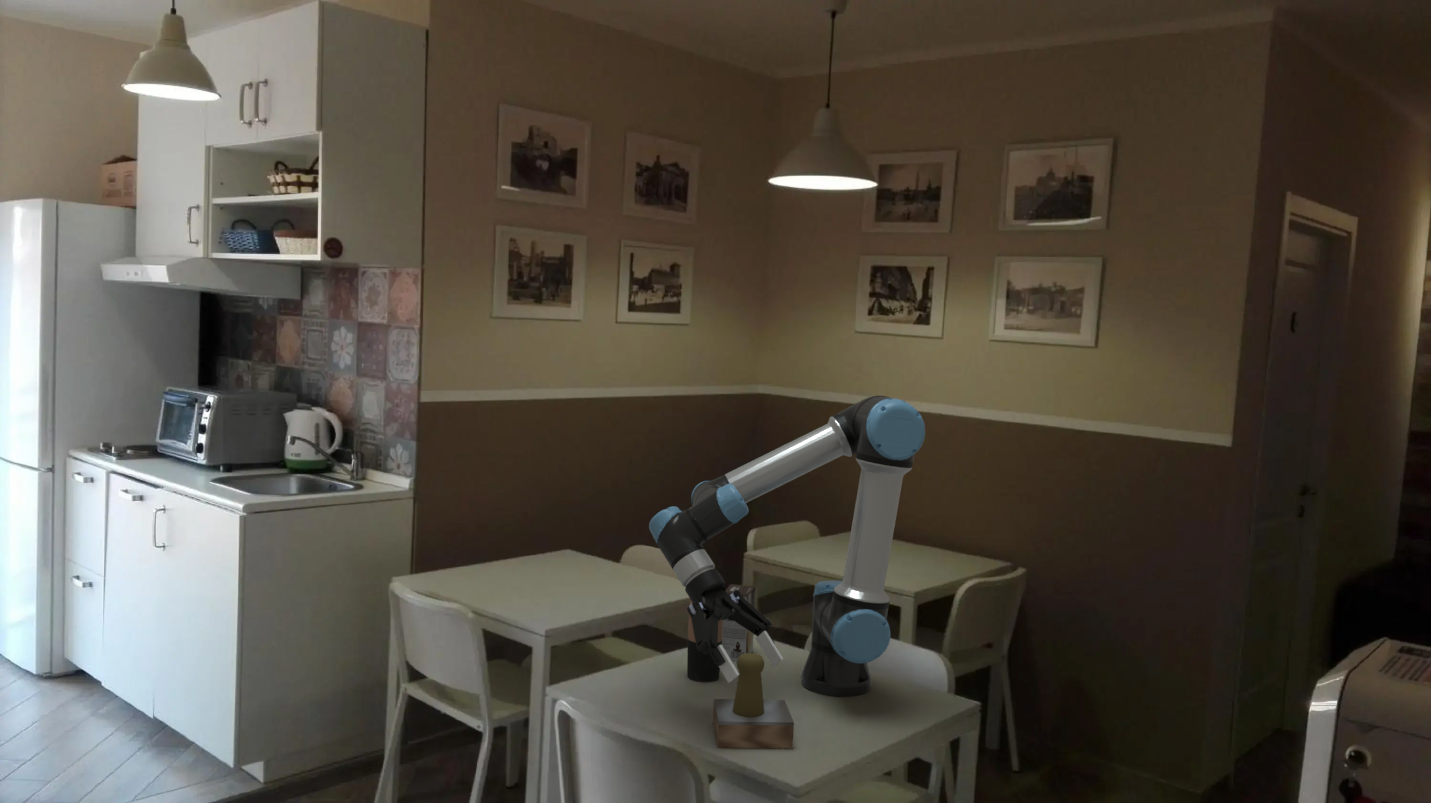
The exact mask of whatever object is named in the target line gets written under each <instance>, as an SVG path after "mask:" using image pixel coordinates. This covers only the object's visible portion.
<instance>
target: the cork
mask: <svg viewBox="0 0 1431 803" xmlns="http://www.w3.org/2000/svg"><path fill="white" fill-rule="evenodd" d="M736 666H737V667H736V669H737V671H738V673H739V674H740V675H738V676H737V682H736V689H735V694H734V698H733V699H734V705H733V710H732V711H733V713H735V714H736V715H739V716H743V717H758V716H761V715H763V714H764V703H763V700H764V694H763V681H762V680H763V679H762V672H763V671H764V668H765V660H764V658H763V656H761V655H760V654H757V653H753V652H752V653H744V654H742V655H740V656H739V658H738V660H737V661H736Z"/></svg>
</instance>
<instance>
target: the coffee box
mask: <svg viewBox="0 0 1431 803" xmlns="http://www.w3.org/2000/svg"><path fill="white" fill-rule="evenodd" d="M735 590H738V591H739V592H740V593H741V595H742V596H743V597H744V599H745V600H746V601H748V602H749V603H750V604H751V605H752V606H753V607H754V608H755V606H756V605H755V604H756V603H755V602H756V601H755V600H756V586H755V585H746V584H745V585H744V584H743V585H742V584H729V585H728V586H727V588H725V591H726V592H727V593H728V594H729V595H730V594H732V593H733V592H734V591H735ZM755 609H756V608H755ZM733 610H734V609H733ZM722 646H723V648H724V650H725V651H726V653H727V654H728V656H729V658H730V659H731V661H732V662H737V660H738V658H739V656H740V655H742V654H744V653H753V651H754V634H753V633H752V632H750V631H749V630H747V629H746V628H744V627H743V626H741V625H740V624H738V623H736V622H735V621H733V620H728V619H725V620H723V632H722Z"/></svg>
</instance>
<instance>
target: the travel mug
mask: <svg viewBox="0 0 1431 803" xmlns="http://www.w3.org/2000/svg"><path fill="white" fill-rule="evenodd" d="M691 604H692V601H691V599H690V598H689V605H688V607H689V606H690V605H691ZM704 618H705V614H704ZM687 625H688V628H687V658H686V660H687V669H686V671H687V672H686V673H687V674H686V676H687V678H688V679H689V680H691V681H694V682H699V683H710V682H711V683H712V682H716V681H717V680H719V679H720V674H721V669H720V668H719V666H717V665H716V664H715V662H714V660H713V659H712V657H711V655H710V654H707V655H705V654H704V653H703V651H702V652H699V651H698V650H697V647H696V641H695V636H694V630H693V625H692V620H691V616H690V614H689V613H688V624H687ZM722 632H723V620H720V621H718V640H717V647H718V646H719V645H722Z"/></svg>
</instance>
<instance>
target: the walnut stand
mask: <svg viewBox="0 0 1431 803" xmlns="http://www.w3.org/2000/svg"><path fill="white" fill-rule="evenodd" d="M734 699H735V698H713V709H712V710H713V712H712V727H713V732H714V737H715V740H716V746H717V749H724V748H725V749H780V748H781V749H784V748H789V750H790V749H793V748H794V747H793V745H794V729H795V728H794V727H795V725H794V724H795V722H794V720H793V717H792V714H791V712H790V710H789V709H790V708H789V706H788V705H787V702H786V699H763V703H764V714H763V715H761V716H758V717H743V716H739V715H736V714H735V713H733V711H732V710H733V705H734Z"/></svg>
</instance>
